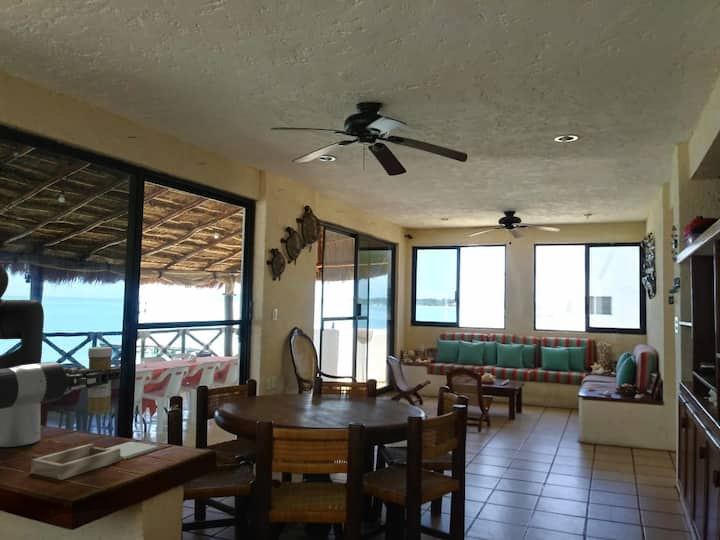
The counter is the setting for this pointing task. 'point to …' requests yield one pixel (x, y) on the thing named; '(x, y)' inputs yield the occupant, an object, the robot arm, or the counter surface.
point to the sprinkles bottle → (101, 393)
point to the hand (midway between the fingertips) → (111, 372)
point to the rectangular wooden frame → (74, 461)
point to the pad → (133, 449)
